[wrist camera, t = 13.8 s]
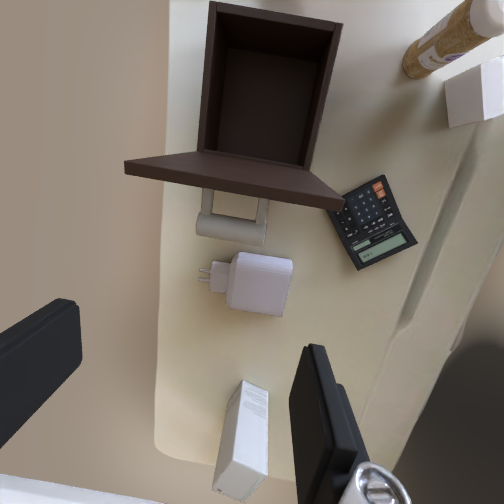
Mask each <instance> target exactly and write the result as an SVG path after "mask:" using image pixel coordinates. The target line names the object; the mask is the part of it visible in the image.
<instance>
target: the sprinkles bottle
mask: <svg viewBox="0 0 504 504" xmlns="http://www.w3.org/2000/svg"><path fill="white" fill-rule="evenodd" d="M502 34H504V0H465V1H464V2H462V3H461V4H459V5H458V6H457V7H456V8H455V9H453V10H452V11H451V12H450V13H449V14H448V15H446V16H445V17H444V18H443V19H442V20H440V21H439V22H438V23H437V24H436V25H434V26H433V27H432V28H431V29H430V30H429V31H427V32H426V33H425V34H424V36H423V37H421V38H420V39H418V40H417V41H415V42H414V43H413V44H412V45H411V46H410V47H409V48H408V50H407V51H406V54H405V56H404V61H403V66H404V70H405V72H406V74H407V75H408V76H409V77H411V78H414V79H423V78H425V77H427V76H428V75H430V74H431V73H432V72H434V71H435V70H437V69H439V68H442V67H444V66H445V65H447V64H449V63H451V62H452V61H454V60H456V59H458V58H459V57H461V56H463V55H465V54H466V53H468V52H469V51H470V50H472V49H474V48H475V47H477V46H479V45H481V44H482V43H484V42H486V41H488V40H489V39H491V38H493V37H497V36H500V35H502Z"/></svg>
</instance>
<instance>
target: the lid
mask: <svg viewBox="0 0 504 504" xmlns="http://www.w3.org/2000/svg"><path fill="white" fill-rule="evenodd" d="M124 167H125V174H127V175H133V176H139V177H145V178H150V179H156V180H162V181H167V182H173V183H179V184H184V185H190V186H196V187H201V188H203V191H202V204H201V212H200V213H199V215H198V217H197V222H196V234H197V235H200V236H206V237H211V238H217V239H223V240H228V241H234V242H240V243H245V244H251V245H257V246H263V243H264V238H265V233H266V226H267V223H265V221H266V215H267V210H268V205H269V200H275V201H281V202H287V203H292V204H298V205H304V206H309V207H315V208H321V209H326V210H332V211H338V212H341V211H342V208H343V205H344V202H345V199H343V198H342V197H341V196H340V195H338V194H337V193H336V192H335V191H333V190H332V189H331V188H330V187H328V186H327V185H326V184H325V183H324V182H322V181H321V180H320V179H319V178H317V177H316V176H315V175H314V174H312V173H311V172H310V171H305V170H299V169H294V168H288V167H282V166H277V165H271V164H265V163H259V162H254V161H248V160H242V159H237V158H231V157H225V156H220V155H214V154H208V153H202V152H197V151H195V152H187V153H180V154H172V155H165V156H158V157H150V158H142V159H135V160H127V161H124ZM214 190H218V191H224V192H230V193H235V194H241V195H247V196H252V197H258V198H259V204H258V210H257V215H256V221H254V220H248V219H243V218H237V217H231V216H226V215H220V214H214V213H212V207H213V197H214Z"/></svg>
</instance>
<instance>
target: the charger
mask: <svg viewBox="0 0 504 504" xmlns="http://www.w3.org/2000/svg"><path fill="white" fill-rule="evenodd" d="M199 271H201V272H207V273H210V279H205V278H198V280H199V281H205V282H209V291H213V292H219V293H225V294H227V297H226V303H227V305H228V306H229V307H230V308H231V309H235V310H241V311H248V312H254V313H260V314H266V315H272V316H278V317H282V316H283V313H284V309H285V304H286V300H287V295H288V291H289V286H290V282H291V277H292V271H293V265H292V261H291V260H290V259H284V258H277V257H271V256H265V255H259V254H252V253H246V252H239V253H237V254H236V255H234V256H233V259H232V262H231V263H225V262H219V261H213V262H212V267H211V270H207V269H201V268H200V269H199Z"/></svg>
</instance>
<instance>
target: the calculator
mask: <svg viewBox="0 0 504 504" xmlns="http://www.w3.org/2000/svg"><path fill="white" fill-rule="evenodd" d="M341 197H342V198H343V199H345V202H344V205H343V208H342V211H341V212H338V211H332V210H327V212H328V214H329V216H330V218H331V220H332V222H333V225H334V227H335V229H336V231H337V233H338V235H339V237H340V239H341V241H342V243H343V245H344V247H345V249H346V250H347V252H348V254H349V256H350V258H351V259H352V261H353V263H354V265H355V267H356V268H357V270H358V271H359V270H361V269H363V268H365V267H367V266H369V265H372V264H374V263H376V262H378V261H380V260H383V259H385V258H387V257H389V256H391V255H393V254H396V253H398V252H400V251H402V250H404V249H407V248H409V247H411V246H413V245H415V244H417V243H418V242H417V241H416V239H415V237H414V236H413V234H412V233H411V231H410V230H409V228H408V227H407V225H406V224H405V222H404V220H403V219H402V217H401V214H400V212H399V209H398V207H397V204H396V202H395V199H394V197H393V194H392V192H391V189H390V187H389V184H388V182H387V179H386V177H385V175H381V176H379V177H377V178H375V179H373V180H371V181H369V182H368V183H366V184H364V185H362V186H360V187H358V188H356V189H354V190H353V191H351V192H349V193H347V194H345V195H343V196H341Z"/></svg>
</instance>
